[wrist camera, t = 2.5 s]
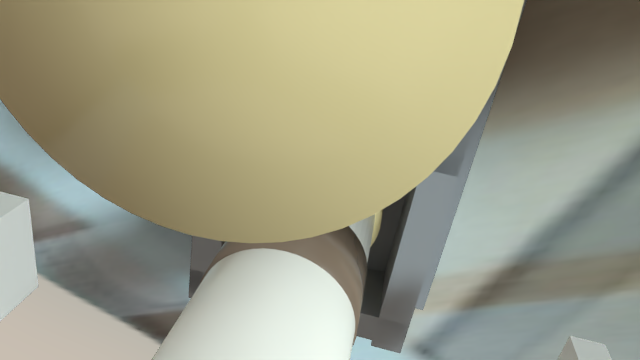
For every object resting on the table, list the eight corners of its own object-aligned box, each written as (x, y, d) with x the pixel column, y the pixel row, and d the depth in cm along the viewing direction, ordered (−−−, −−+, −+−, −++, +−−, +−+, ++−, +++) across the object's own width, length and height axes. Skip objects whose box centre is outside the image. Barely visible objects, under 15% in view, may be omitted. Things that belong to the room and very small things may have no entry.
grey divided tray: (236, -259, 13) (189, -305, 11) (590, -203, 12) (634, -238, 10) (201, 245, 21) (168, 291, 18) (423, 301, 20) (422, 359, 17)
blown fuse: (274, 122, 17) (16, 445, 6) (397, 150, 17) (343, 544, 6) (260, 226, 19) (44, 610, 8) (371, 254, 19) (294, 693, 8)
